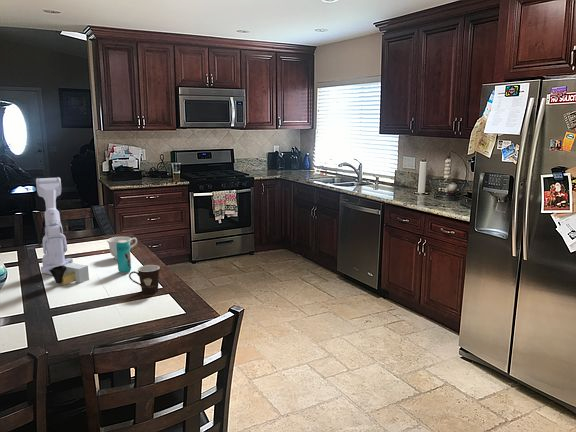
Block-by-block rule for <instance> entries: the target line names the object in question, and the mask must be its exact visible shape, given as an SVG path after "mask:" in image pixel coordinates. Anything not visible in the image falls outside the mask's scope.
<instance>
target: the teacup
mask: <svg viewBox="0 0 576 432" xmlns="http://www.w3.org/2000/svg"><path fill="white" fill-rule="evenodd" d="M119 240H129V244H130V250H131V249H132V248H134V247H135V246H136V245H138V239H137V238H136V237H131V236H123V235H122V236H120V235H119V236H112V237H110V238H108V239H107V240H106V242H107V243H108V246H109V252H110V254H111V256H112V257H114V260H117V246H116V244H117V241H119ZM133 241H135V242H134V244H131V243H133ZM117 261H118V260H117Z"/></svg>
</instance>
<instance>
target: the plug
mask: <svg viewBox="0 0 576 432" xmlns="http://www.w3.org/2000/svg"><path fill="white" fill-rule="evenodd" d="M74 281H75V282H76V278H75V270H73V269H71V272H70V273H68V274H65V275H63V279H62V283H61V284H60V285H68V284H69V283H71V282H74Z"/></svg>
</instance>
